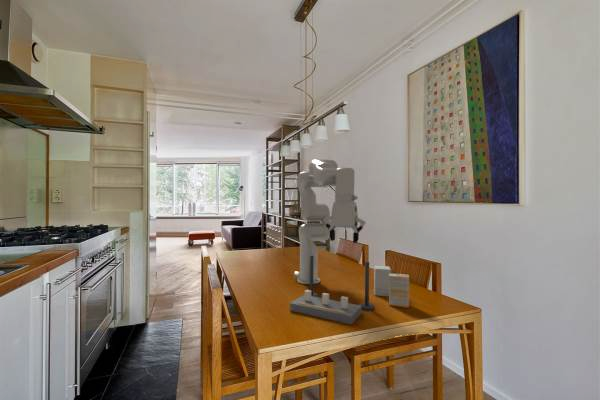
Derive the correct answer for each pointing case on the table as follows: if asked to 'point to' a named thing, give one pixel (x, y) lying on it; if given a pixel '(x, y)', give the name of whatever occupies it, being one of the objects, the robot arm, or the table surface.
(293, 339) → the table surface
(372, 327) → the table surface
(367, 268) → the cord posts
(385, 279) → the supplement box
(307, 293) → the paddle left
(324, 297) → the paddle mid
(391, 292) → the supplement box
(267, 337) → the table surface
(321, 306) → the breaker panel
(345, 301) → the paddle right
